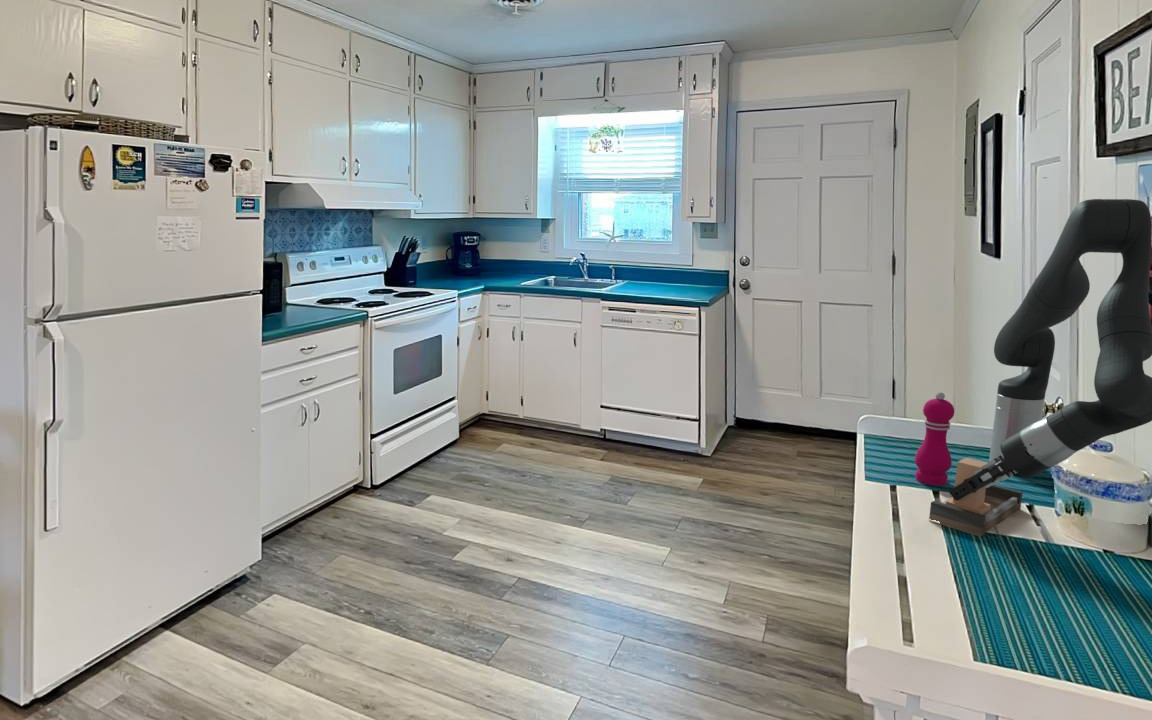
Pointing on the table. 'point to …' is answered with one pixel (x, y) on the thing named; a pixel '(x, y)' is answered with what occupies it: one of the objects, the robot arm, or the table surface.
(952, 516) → the track
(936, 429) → the pepper mill
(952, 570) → the table surface
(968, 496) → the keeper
